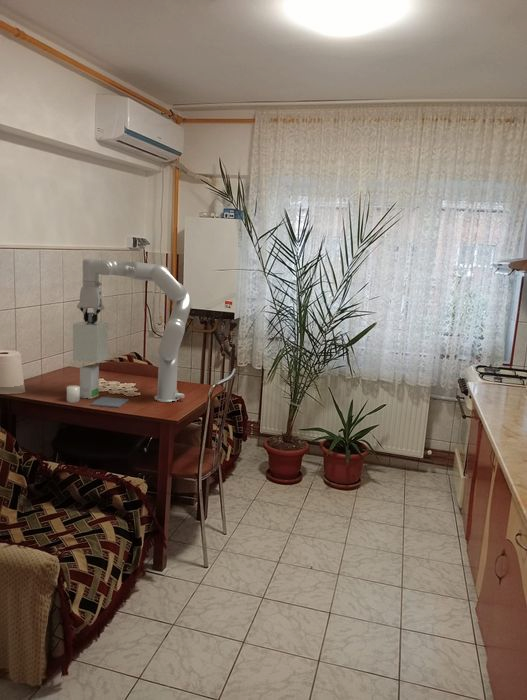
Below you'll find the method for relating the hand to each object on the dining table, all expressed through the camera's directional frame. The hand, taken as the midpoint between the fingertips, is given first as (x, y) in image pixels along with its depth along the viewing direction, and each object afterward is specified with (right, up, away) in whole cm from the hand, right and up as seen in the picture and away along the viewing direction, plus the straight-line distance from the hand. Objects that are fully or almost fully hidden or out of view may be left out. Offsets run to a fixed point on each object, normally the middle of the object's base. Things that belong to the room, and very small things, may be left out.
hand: (90, 321), depth 265 cm
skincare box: (-3, -38, +6) cm, 38 cm away
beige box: (-1, -19, +4) cm, 19 cm away
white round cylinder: (-8, -39, -2) cm, 40 cm away
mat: (+10, -40, -3) cm, 41 cm away
